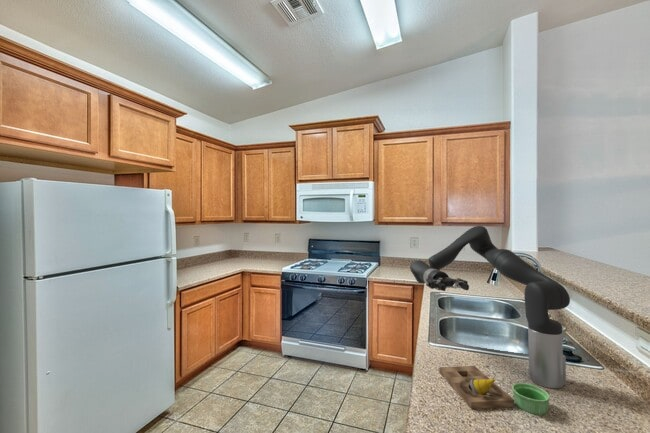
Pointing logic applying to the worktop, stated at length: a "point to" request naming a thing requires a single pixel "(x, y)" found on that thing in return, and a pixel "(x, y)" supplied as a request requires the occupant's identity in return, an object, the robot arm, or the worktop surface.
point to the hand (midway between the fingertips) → (456, 287)
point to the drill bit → (481, 385)
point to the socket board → (461, 384)
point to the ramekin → (531, 398)
